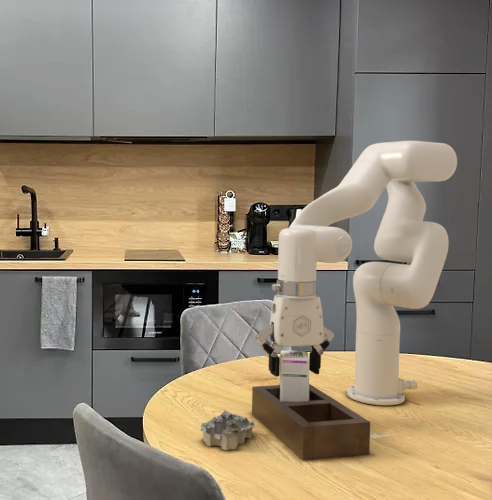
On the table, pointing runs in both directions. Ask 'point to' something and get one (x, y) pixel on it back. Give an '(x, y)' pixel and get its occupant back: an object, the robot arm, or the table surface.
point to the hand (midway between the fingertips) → (294, 373)
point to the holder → (312, 424)
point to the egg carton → (227, 430)
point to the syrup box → (294, 376)
